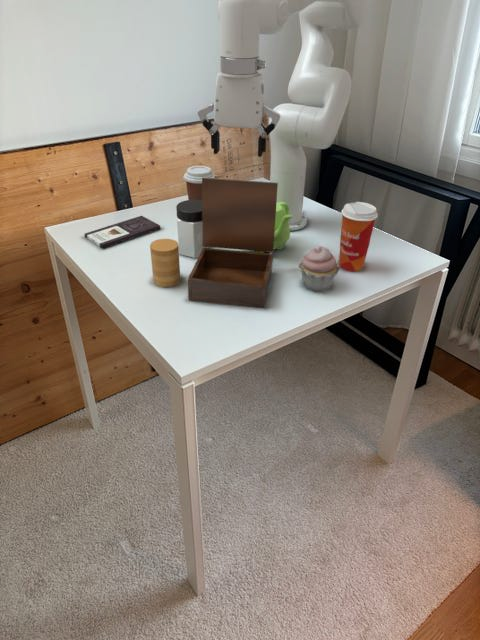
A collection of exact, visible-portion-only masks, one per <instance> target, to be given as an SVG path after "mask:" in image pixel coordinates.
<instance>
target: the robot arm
mask: <svg viewBox="0 0 480 640" xmlns="http://www.w3.org/2000/svg"><path fill="white" fill-rule="evenodd" d="M368 10H369V0H218V3H217V18H218V21H219V56H220V57H219V60H220V67H219V68H220V71H219V72H217V74H216V80H215V85H214V86H215V88H214V100H213V103H211V104H209V105H207V106H205V107H202V108H201V109H199V110H198V111H197V116H198V118H199V120H200V122H201V123H202V124H201V125H202V126H203V127H204V128H205V129H206V131H207V132H208V134H209V135H210V148H211V149H212V150H213V155H217V154H218V153H219V152H220V150H221V147H220V146H221V140H220V139H221V137H220V136H221V135H220V132H219V129H220V128H221V127H227V128H241V129H255V130H256V131H257V133H258V135H259V137H258V140H257V141H258V142H257V157H258V158H262V156H263V154H264V153H266V152H267V151H266V150H267V137H268V136H269V138H270V139H269V140H270V171H269V172H270V173H269V182H274V183H278V189H277V203H278V202H285V203H286V204H287V205H288V206H289V213H288V215H292V216H293V217H291V218H290V219H289V221H288V222H289V228H290V232H291V231H292V232H293V231H298V230H301V229H303V228H304V227H305V226H306V225H307V224H308V218H307V217H306V215H304V214H303V206H304V196H305V184H306V174H307V165H308V164H307V157H306V153H305V151H304V149H303V147H305V148H311V149H317V150H326V149H328V148H330V147H331V146H332V145H333V143H334V142H335V140H336V137H337V135H338V132H339V129H340V126H341V123H342V120H343V118H344V115H345V112H346V110H347V107H348V104H349V101H350V97H351V94H352V83H353V82H352V77H351V74H350V73H349V71H347V70H346V69H344V68H340V67H335V66H331V65H332V63H333V61H334V56H335V51H334V47H333V45H332V42H331V41H330V39H329V37H328V35H327V33H326V32H325V29H333V30H334V29H335V30H357V29H359V28H360V27H361V26H363V24H364V23H365V21H366V18H367V16H368ZM297 14H298V17H299V26H300V34H301V36H300V37H301V48H300V52H299V54H298V57H297V60H296V62H295V66H294V68H293V70H292V73H291V77H290V80H289V82H288V87H287V96H288V98H289V100H290V101H291V102H292V103H288V102H287V103H280V104H278V105H276V106H274V108H273V109H272V108H270V107H268V106H267V105H266V104H265V88H264V87H265V86H264V78H263V74H262V73H260V72H259V71H260V70H262V69H266V67H267V61H266V60H263V59H261V58H260V35H270V36H271V35H276V34H278V33H280V32H281V31H282V30H283V29H284V28H285V26H286V25H287V23H288V21H289V17H291V16H294V15H297ZM212 112H213V121H214V124H213V123H212V121H211V120H210V119H209V118H208V116H207V115H208V114H210V113H212ZM265 116H267V117H268V125H267V126H266V125H265V124H264V123H263V122H264V119H265ZM281 207H282V208H283V210H284V206H281Z"/></svg>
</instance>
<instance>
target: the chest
mask: <svg viewBox="0 0 480 640" xmlns="http://www.w3.org/2000/svg"><path fill="white" fill-rule="evenodd" d="M273 259H274V253H270V252H264V253H258V252H254V251H248V250H236V249H225V248H214V247H210V248H203V249H202V251H201V253H200V255H199V257H197V260H196V262H195V263H194V265H193V268H192V269H191V272H190V274H189V276H188V277H187V296H188V297H187V298H188V301H190V302H201V303H208V304H209V303H211V304H218V305H229V306H239V307H248V308H250V307H251V308H258V309H259V308H260V309H265V306H266V303H267V298H268V293H269V288H270V284H271V279H272V275H273V264H274V263H273V261H274V260H273Z"/></svg>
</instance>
